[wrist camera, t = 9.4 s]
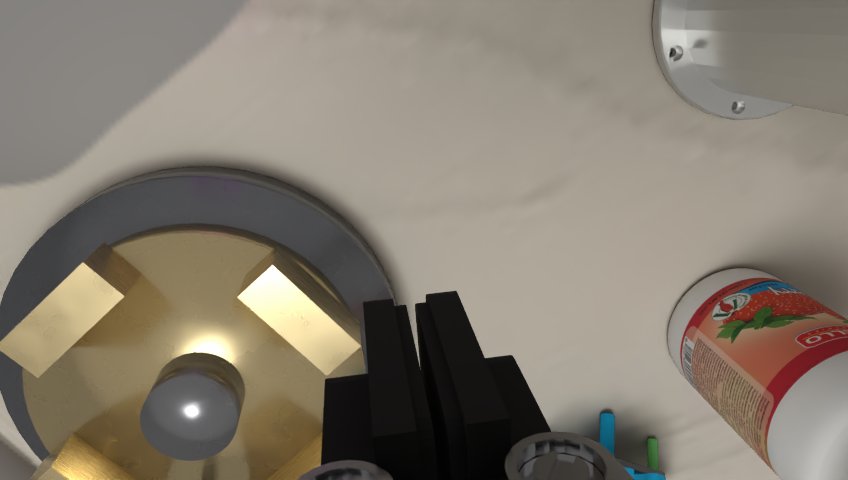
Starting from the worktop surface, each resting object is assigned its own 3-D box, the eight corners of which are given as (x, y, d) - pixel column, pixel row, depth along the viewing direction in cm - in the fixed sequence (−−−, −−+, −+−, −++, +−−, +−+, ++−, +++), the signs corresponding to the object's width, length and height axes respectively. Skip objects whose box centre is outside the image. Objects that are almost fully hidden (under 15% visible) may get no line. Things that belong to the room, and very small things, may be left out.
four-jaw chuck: (17, 219, 35) (-33, 250, 30) (370, 226, 38) (374, 257, 33) (58, 509, 41) (22, 572, 36) (360, 499, 44) (362, 557, 39)
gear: (504, 488, 47) (602, 482, 39) (511, 407, 50) (604, 385, 42) (619, 517, 51) (729, 517, 43) (619, 441, 54) (723, 427, 46)
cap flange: (295, 98, 38) (291, 105, 35) (456, 410, 46) (464, 437, 43) (-68, 272, 39) (-102, 293, 36) (154, 548, 47) (141, 585, 44)
